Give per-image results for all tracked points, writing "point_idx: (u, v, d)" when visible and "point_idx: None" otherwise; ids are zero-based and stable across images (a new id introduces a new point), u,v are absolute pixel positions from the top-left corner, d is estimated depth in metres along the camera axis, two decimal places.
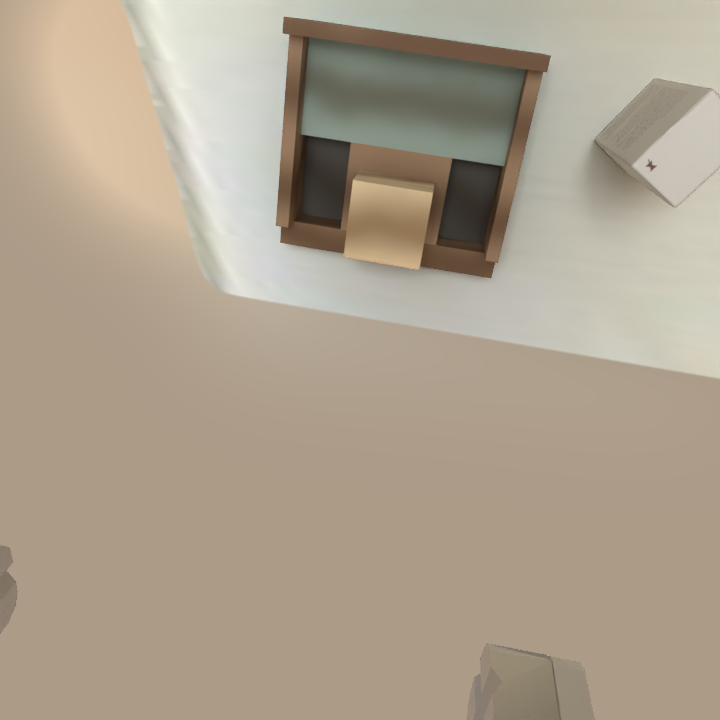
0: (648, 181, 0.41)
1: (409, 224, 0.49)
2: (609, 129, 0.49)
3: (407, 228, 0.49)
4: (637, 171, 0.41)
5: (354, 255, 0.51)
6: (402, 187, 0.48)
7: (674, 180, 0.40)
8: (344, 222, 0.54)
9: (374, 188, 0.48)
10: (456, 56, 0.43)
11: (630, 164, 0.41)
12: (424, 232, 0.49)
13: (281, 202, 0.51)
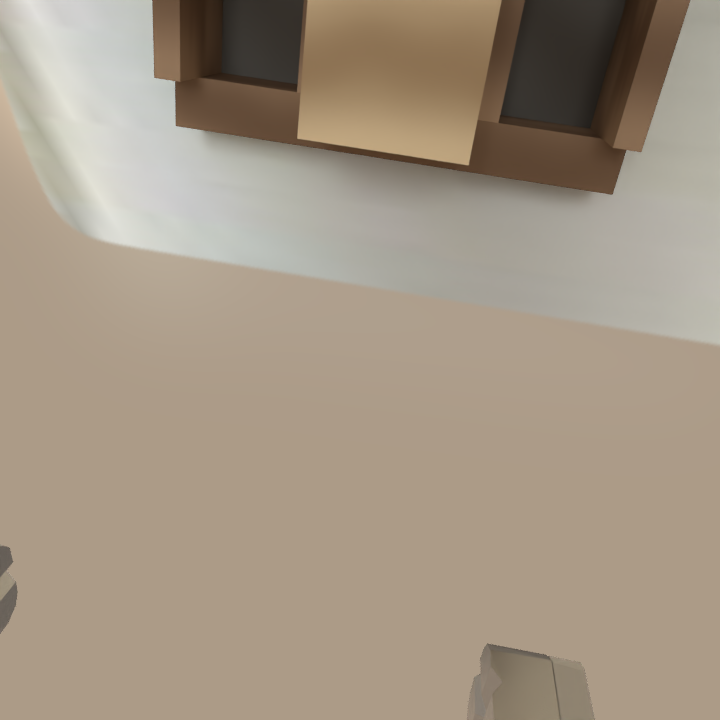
0: None
1: (449, 50, 0.21)
2: None
3: (443, 61, 0.21)
4: None
5: (321, 133, 0.22)
6: None
7: None
8: None
9: None
10: None
11: None
12: (484, 70, 0.21)
13: (161, 20, 0.23)
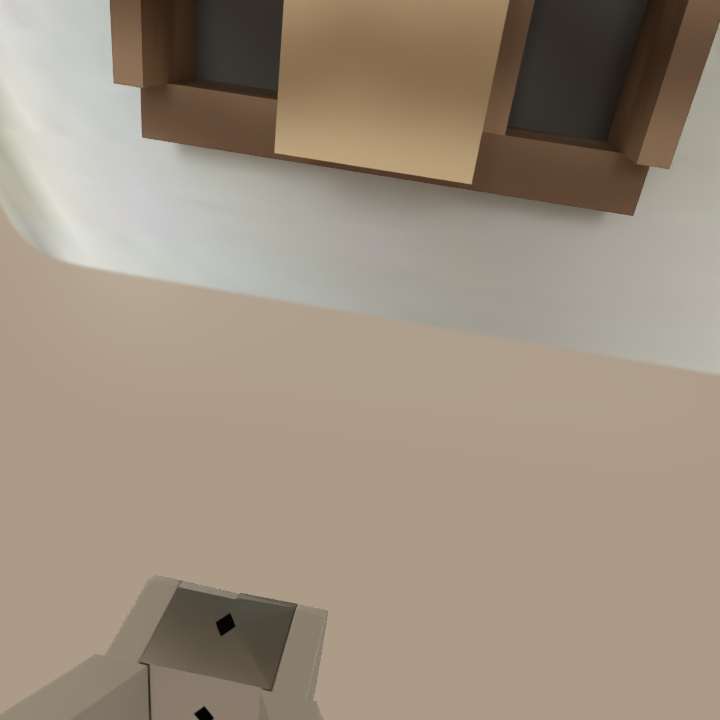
0: None
1: (449, 51, 0.18)
2: None
3: (442, 65, 0.18)
4: None
5: (302, 147, 0.19)
6: None
7: None
8: None
9: None
10: None
11: None
12: (489, 74, 0.18)
13: (120, 18, 0.20)
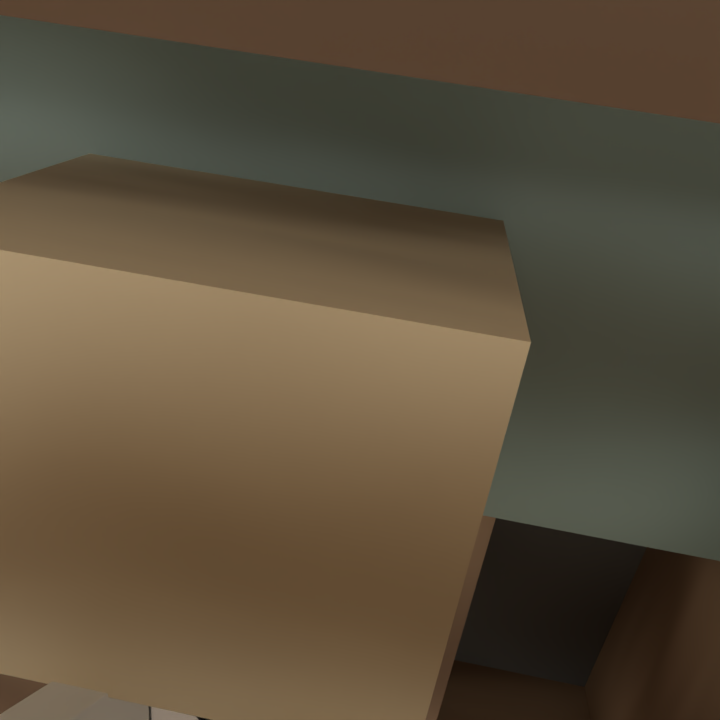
0: None
1: (341, 542, 0.07)
2: None
3: (328, 565, 0.07)
4: None
5: (24, 665, 0.08)
6: (271, 288, 0.06)
7: None
8: None
9: (45, 294, 0.06)
10: (604, 79, 0.04)
11: None
12: (449, 594, 0.07)
13: None
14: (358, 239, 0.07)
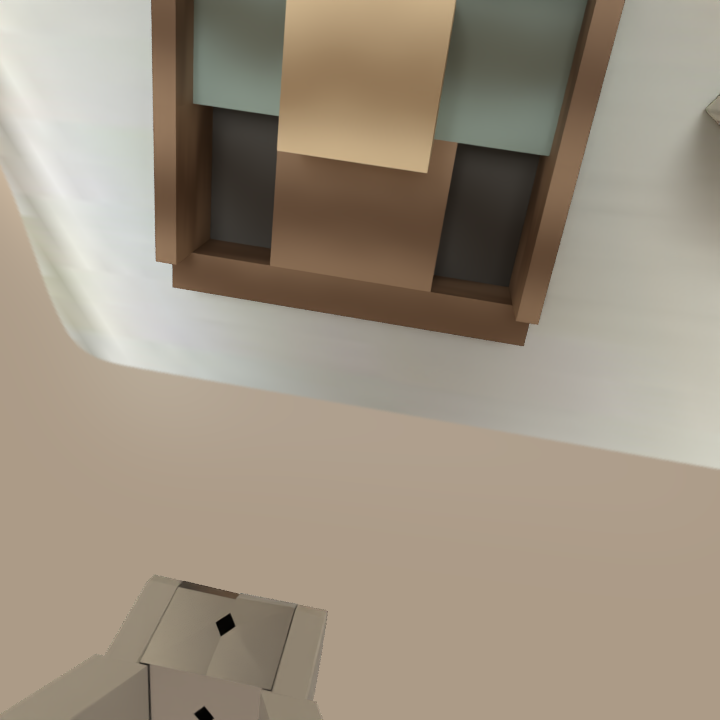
0: None
1: (407, 73, 0.24)
2: None
3: (402, 83, 0.24)
4: None
5: (298, 146, 0.25)
6: None
7: None
8: (275, 254, 0.32)
9: None
10: None
11: None
12: (437, 90, 0.24)
13: (161, 221, 0.30)
14: None
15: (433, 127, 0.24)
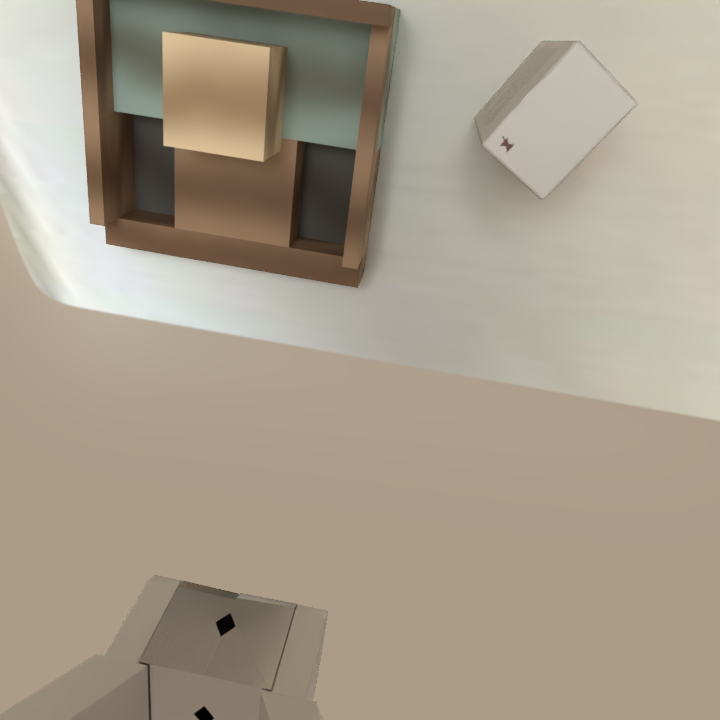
0: (505, 165, 0.31)
1: (243, 95, 0.36)
2: (488, 104, 0.40)
3: (241, 101, 0.36)
4: (490, 152, 0.31)
5: (177, 142, 0.38)
6: (229, 41, 0.35)
7: (537, 164, 0.31)
8: (178, 219, 0.44)
9: (192, 43, 0.35)
10: (272, 6, 0.34)
11: (482, 143, 0.31)
12: (264, 106, 0.36)
13: (92, 195, 0.42)
14: (248, 42, 0.37)
15: (264, 131, 0.37)
